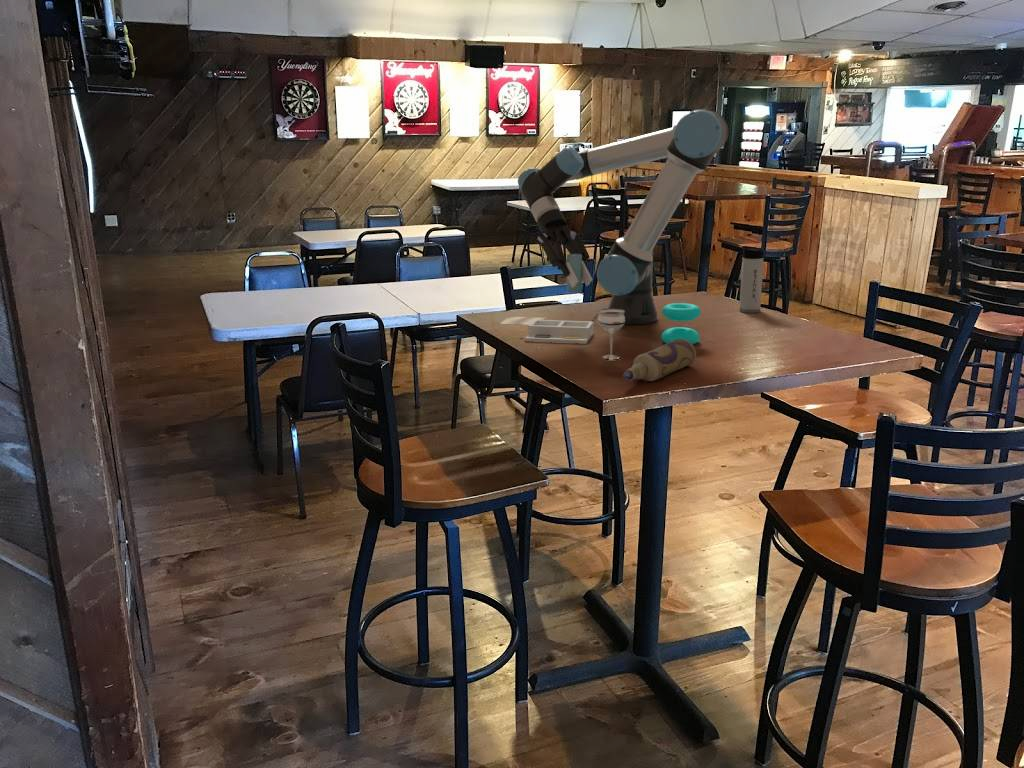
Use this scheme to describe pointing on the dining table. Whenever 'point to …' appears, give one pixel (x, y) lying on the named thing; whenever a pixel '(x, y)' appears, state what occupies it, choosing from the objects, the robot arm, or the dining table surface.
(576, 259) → the green rectangular block
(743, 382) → the dining table surface
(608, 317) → the wineglass
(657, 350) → the decorative bottle
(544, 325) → the divided storage tray
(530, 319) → the deck
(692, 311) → the donuts
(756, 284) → the travel mug
